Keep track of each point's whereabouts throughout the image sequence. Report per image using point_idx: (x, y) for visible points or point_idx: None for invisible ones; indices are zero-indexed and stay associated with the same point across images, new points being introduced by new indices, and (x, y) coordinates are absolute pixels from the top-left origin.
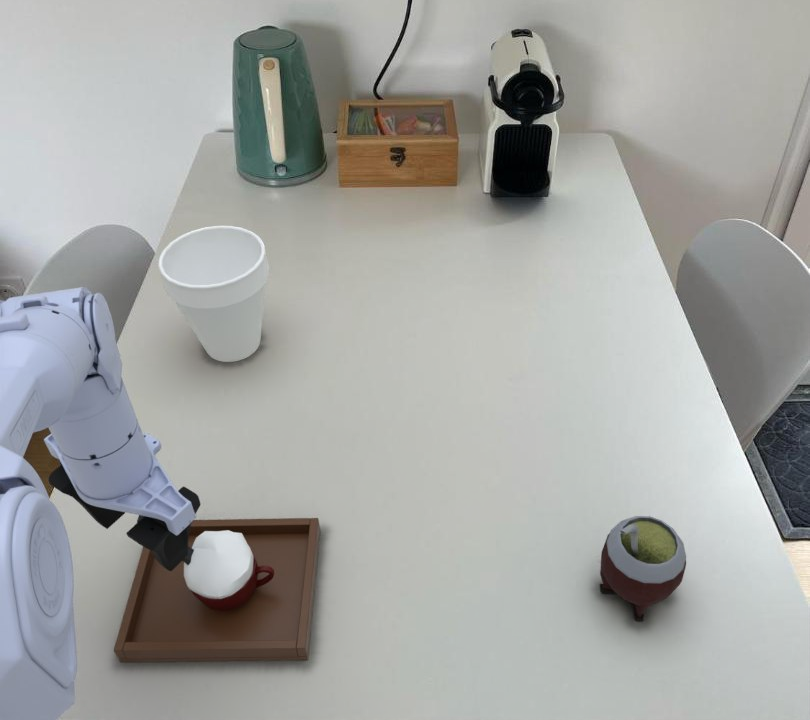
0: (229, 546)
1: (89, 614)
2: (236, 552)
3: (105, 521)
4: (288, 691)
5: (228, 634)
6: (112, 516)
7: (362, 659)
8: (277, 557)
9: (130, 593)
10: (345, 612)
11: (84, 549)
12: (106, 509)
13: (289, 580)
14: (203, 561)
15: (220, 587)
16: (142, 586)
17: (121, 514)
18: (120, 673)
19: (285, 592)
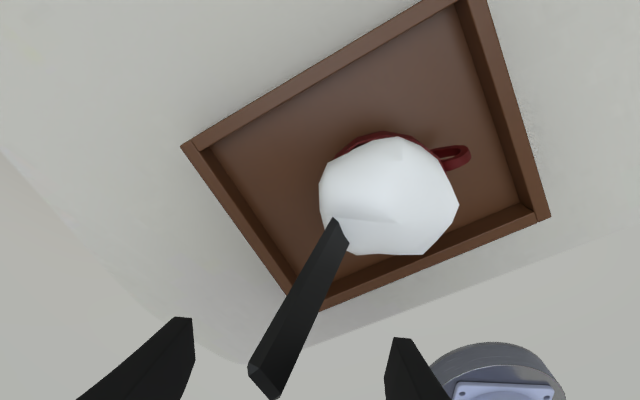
0: (413, 197)
1: (224, 272)
2: (429, 195)
3: (184, 379)
4: (519, 244)
5: None
6: (184, 361)
7: (609, 168)
8: (416, 85)
9: (260, 258)
10: (562, 115)
11: (132, 208)
12: (165, 396)
13: (457, 114)
14: (378, 241)
15: (425, 250)
16: (262, 235)
17: (189, 329)
18: None
19: (461, 136)
